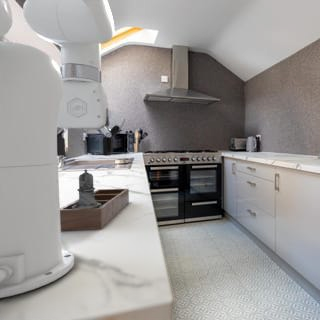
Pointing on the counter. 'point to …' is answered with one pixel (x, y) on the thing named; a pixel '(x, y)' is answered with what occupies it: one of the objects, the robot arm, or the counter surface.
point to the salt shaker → (86, 192)
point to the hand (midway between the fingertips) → (84, 155)
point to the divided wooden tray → (94, 210)
